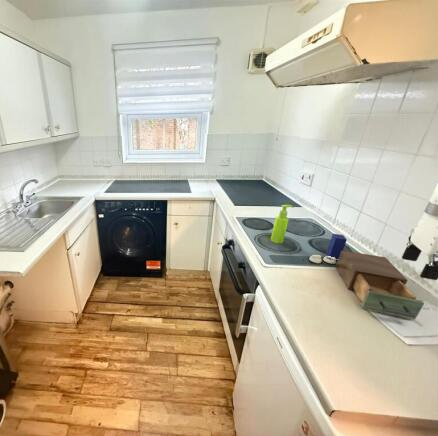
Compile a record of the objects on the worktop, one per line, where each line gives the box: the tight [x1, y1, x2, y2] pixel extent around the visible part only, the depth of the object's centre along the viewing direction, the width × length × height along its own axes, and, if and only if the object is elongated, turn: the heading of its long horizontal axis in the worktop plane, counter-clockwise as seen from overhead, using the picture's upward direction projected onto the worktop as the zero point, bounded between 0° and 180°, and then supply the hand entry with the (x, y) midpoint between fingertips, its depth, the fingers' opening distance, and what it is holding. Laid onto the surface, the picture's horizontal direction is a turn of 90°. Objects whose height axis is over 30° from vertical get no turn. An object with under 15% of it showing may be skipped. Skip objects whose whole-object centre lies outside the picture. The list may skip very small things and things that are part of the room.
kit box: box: [325, 233, 348, 259], centre depth 108 cm, size 4×5×11 cm
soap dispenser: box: [270, 204, 294, 244], centre depth 122 cm, size 6×7×20 cm
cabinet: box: [334, 250, 408, 292], centre depth 92 cm, size 16×15×9 cm
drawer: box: [352, 273, 425, 321], centre depth 80 cm, size 19×13×7 cm
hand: (417, 268), depth 67 cm, fingers open, 9 cm apart
